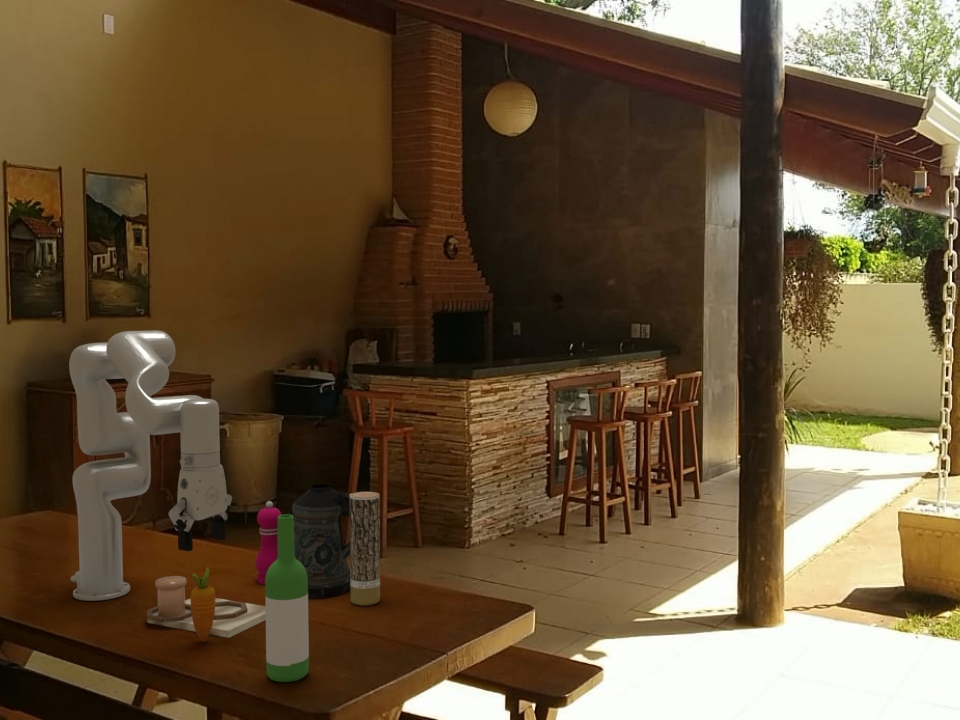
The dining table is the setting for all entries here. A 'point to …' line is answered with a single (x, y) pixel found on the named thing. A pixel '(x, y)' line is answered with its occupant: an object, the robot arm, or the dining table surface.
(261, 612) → the stand
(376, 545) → the paper tube
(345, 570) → the beer stein
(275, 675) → the wine bottle
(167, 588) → the pink lidded jar
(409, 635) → the dining table surface
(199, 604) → the carrot
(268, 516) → the pepper mill
